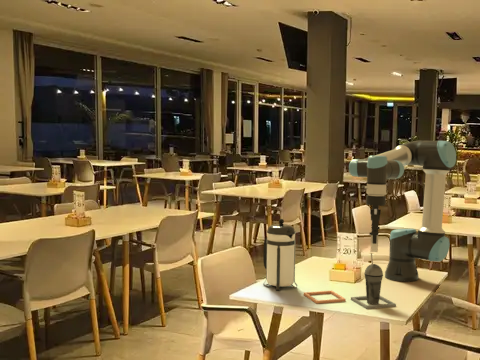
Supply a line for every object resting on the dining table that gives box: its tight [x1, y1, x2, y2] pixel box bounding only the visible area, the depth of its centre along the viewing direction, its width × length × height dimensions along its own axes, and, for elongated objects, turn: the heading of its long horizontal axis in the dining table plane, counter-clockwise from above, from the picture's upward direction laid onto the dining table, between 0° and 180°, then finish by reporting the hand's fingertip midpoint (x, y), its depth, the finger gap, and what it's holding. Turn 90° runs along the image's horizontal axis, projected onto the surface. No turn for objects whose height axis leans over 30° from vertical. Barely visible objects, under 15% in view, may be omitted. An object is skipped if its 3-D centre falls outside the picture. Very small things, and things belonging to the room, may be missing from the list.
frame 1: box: [303, 290, 347, 304], centre depth 229 cm, size 13×13×1 cm
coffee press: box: [263, 218, 298, 292], centre depth 246 cm, size 17×16×30 cm
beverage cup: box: [363, 252, 384, 305], centre depth 223 cm, size 7×7×20 cm
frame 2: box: [350, 295, 397, 310], centre depth 223 cm, size 13×13×1 cm
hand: (374, 248), depth 222 cm, fingers open, 13 cm apart
